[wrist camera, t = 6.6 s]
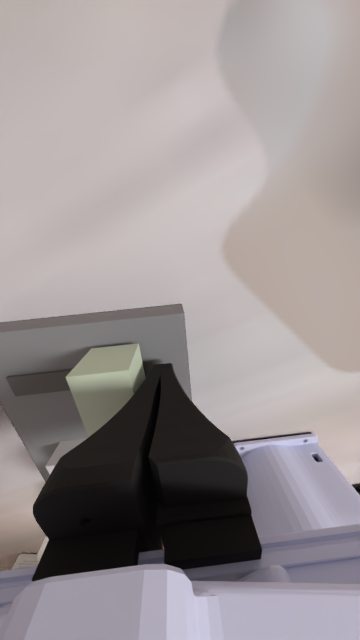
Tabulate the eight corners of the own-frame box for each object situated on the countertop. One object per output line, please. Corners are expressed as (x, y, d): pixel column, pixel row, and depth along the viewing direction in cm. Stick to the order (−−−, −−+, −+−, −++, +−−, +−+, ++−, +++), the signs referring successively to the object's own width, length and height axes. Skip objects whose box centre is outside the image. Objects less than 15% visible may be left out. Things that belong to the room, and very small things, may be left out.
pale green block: (138, 343, 11) (128, 370, 8) (150, 404, 12) (145, 442, 10) (91, 348, 11) (65, 377, 8) (109, 408, 12) (92, 449, 10)
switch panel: (181, 303, 13) (186, 322, 9) (199, 499, 22) (206, 553, 18) (-1, 322, 13) (-78, 350, 9) (90, 512, 22) (72, 570, 18)
